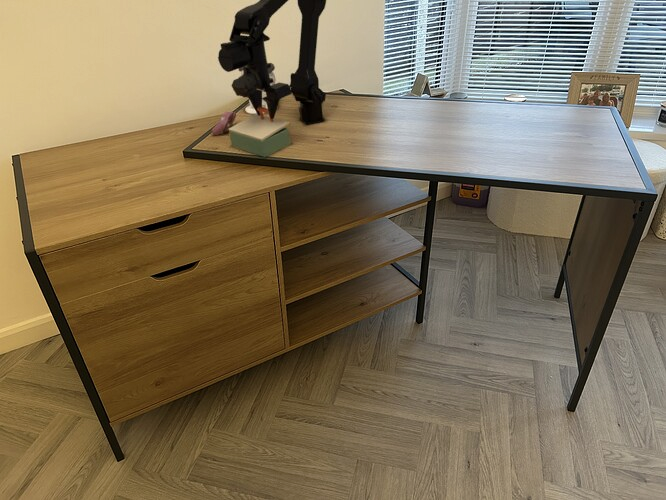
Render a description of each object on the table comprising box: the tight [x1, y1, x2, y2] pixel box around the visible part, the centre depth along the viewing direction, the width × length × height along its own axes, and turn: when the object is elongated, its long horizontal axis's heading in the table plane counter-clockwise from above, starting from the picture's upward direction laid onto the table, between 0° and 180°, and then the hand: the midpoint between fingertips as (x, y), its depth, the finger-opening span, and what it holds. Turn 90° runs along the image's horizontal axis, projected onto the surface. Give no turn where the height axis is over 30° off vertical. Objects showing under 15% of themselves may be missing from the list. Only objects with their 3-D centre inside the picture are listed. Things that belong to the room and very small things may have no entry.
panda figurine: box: [238, 62, 279, 115], centre depth 164 cm, size 12×11×15 cm
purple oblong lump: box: [211, 109, 237, 136], centre depth 152 cm, size 10×5×7 cm, turn 168°
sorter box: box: [228, 127, 291, 158], centre depth 141 cm, size 10×14×5 cm
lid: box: [228, 107, 290, 141], centre depth 138 cm, size 11×14×4 cm
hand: (266, 116), depth 140 cm, fingers closed on lid, 5 cm apart
